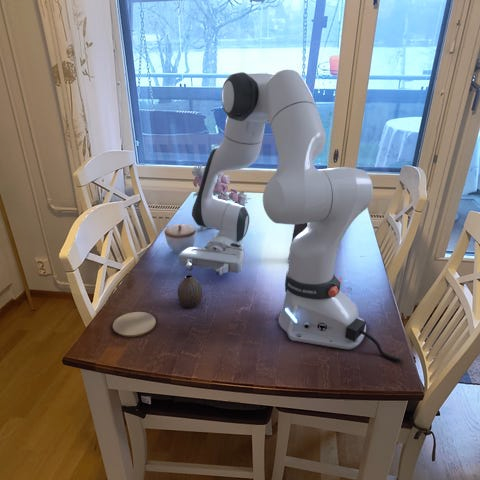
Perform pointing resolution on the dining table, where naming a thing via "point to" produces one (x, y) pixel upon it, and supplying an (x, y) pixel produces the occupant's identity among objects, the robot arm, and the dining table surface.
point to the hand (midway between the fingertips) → (202, 270)
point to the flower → (219, 188)
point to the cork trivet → (134, 324)
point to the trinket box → (180, 237)
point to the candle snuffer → (298, 230)
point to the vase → (189, 292)
